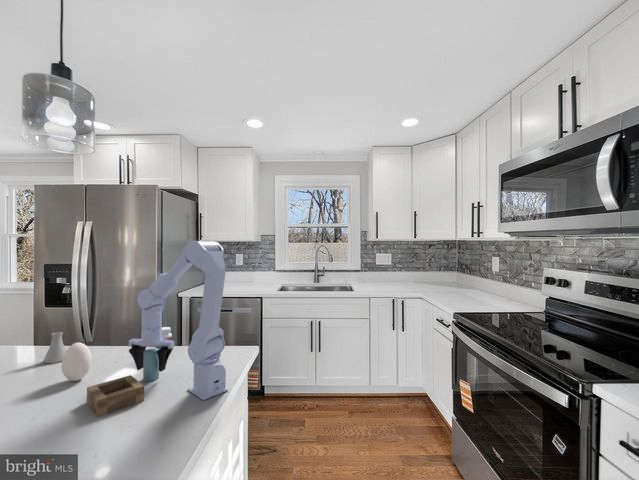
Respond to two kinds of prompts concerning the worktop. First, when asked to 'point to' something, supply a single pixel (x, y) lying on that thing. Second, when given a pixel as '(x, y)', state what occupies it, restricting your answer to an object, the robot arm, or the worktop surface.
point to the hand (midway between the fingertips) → (151, 369)
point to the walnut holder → (114, 395)
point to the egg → (76, 362)
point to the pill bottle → (166, 334)
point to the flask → (55, 349)
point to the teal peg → (150, 365)
